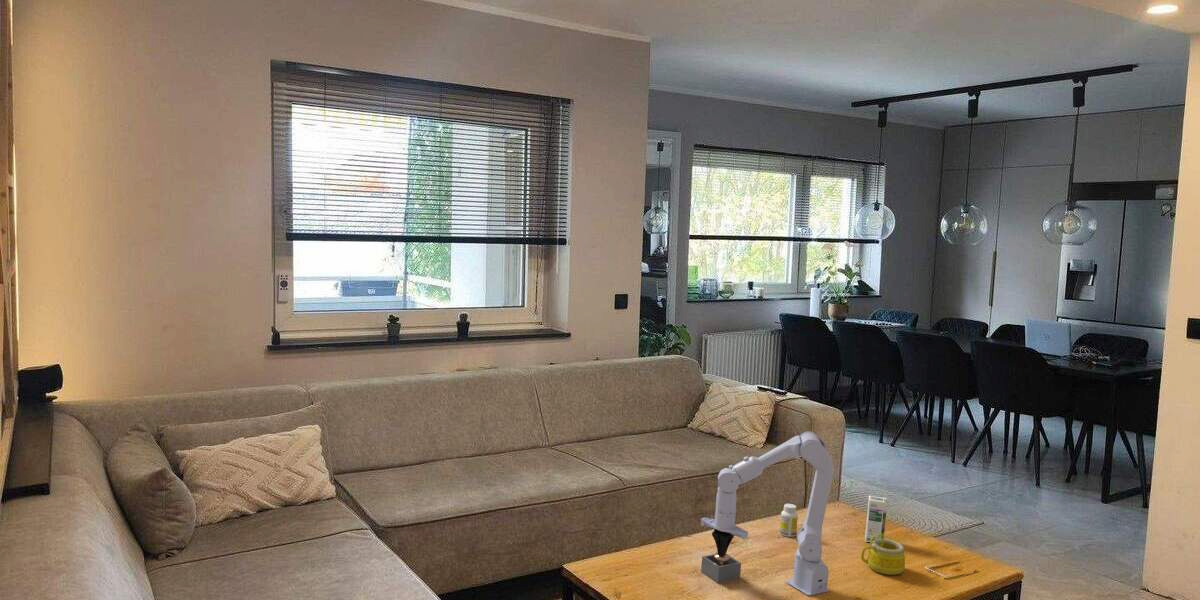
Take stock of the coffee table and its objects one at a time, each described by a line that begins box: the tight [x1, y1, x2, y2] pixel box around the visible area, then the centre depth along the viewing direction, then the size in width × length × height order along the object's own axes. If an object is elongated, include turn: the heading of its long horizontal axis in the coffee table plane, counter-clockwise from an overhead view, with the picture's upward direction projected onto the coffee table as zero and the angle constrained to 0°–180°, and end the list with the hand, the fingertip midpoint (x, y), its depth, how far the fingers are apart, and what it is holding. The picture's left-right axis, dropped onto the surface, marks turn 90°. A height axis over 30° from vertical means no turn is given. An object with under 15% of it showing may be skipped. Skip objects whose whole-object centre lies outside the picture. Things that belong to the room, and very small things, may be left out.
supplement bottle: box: [779, 503, 799, 538], centre depth 280 cm, size 5×5×10 cm
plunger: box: [713, 551, 731, 566], centre depth 245 cm, size 6×6×5 cm
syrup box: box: [864, 495, 888, 543], centre depth 278 cm, size 6×6×14 cm
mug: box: [860, 529, 906, 576], centre depth 256 cm, size 13×11×12 cm
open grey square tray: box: [700, 553, 742, 584], centre depth 245 cm, size 8×8×5 cm
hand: (721, 555), depth 245 cm, fingers closed, pressing on plunger
